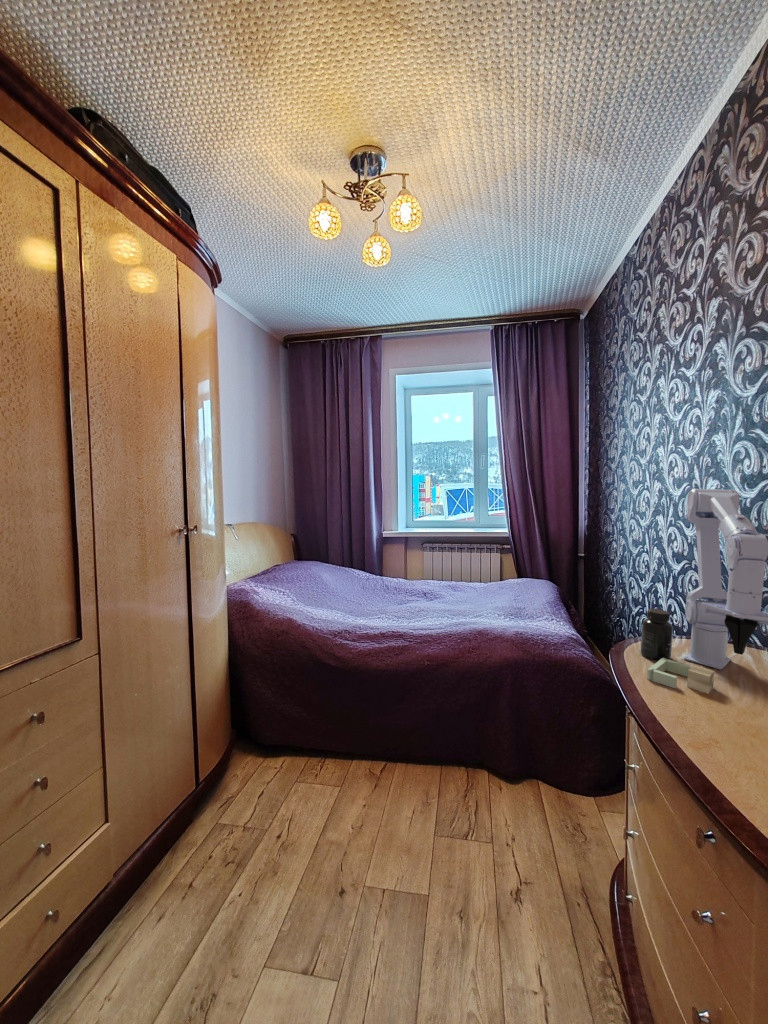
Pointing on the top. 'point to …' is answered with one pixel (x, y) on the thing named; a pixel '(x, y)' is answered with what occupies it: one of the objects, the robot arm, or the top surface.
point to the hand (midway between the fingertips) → (739, 652)
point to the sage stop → (661, 677)
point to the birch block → (700, 679)
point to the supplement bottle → (656, 635)
